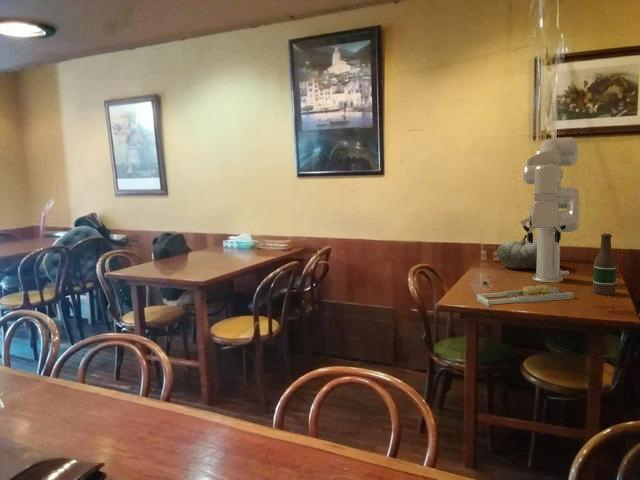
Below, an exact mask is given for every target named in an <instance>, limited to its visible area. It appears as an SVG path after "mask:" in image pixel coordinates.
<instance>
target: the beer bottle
mask: <svg viewBox="0 0 640 480" xmlns="http://www.w3.org/2000/svg"><path fill="white" fill-rule="evenodd" d="M600 237H601V240H600V248H599V253H598V254H597V256H596V257H595V259H594V261H593V262H594V263H593V270H592V271H593V275H592V276H593V277H592V293H593V294H595V295H599V296H614V295H615V294H616V287H617V286H616V284H617V281H616V280H617V260H616V259H615V257H614V255H613V253H612V234H610V233H601V234H600ZM613 294H614V295H613Z"/></svg>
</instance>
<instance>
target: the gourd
mask: <svg viewBox="0 0 640 480" xmlns="http://www.w3.org/2000/svg"><path fill="white" fill-rule="evenodd" d="M496 256H497V259H498V260H499V262H500V263H501V264H502V265H503V266H505V267H506V268H509V269H511V270H512V269H513V270H519V269H522V270H526V269H530V270H533V269H536V264H537V238H533V243H529V241H528V240H527V234H524V237H523V238H522V239H521V240H520V241H517V240H516V241H515V240H513V241H507V242H504V243H502V244H500V245H499V246H498V248H497V249H496Z"/></svg>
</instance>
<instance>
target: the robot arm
mask: <svg viewBox="0 0 640 480" xmlns="http://www.w3.org/2000/svg"><path fill="white" fill-rule="evenodd" d="M578 160H579V145H578V141H577V140H576V139H575V138H574V137H572V136H569V137H552V138H546V139H544V140H543V141H542V142H541V144H540V145H539V149H538V150H537V151H536V152H535V154H534V155H533V156H531V157H530V158H527V160H526V161H525V163H524V166H523V171H522V181H524V184H527V185H534V186H533V188H534V190H533V193H534V194H533V201H531V203H530V207H529V214H528V215H529V216H528V217H526V218H524V219H522V220H520V225H521V227H522V229H523V230H524V231H525V232H526V233H527V234H526V235H527V238H526V240H528V241H529V243H533V239H534V233H533V232H534V230H535V231H536V239H537V264H536V273H535V274H534V275H533V276H532V280H533V281H536V282H541V283H560V282H563V281H564V278H563V276H569V275H570V271H569V270H562V269H560V265H561V262H560V259H561V258H560V257H561V239H562V236H561V235H562V233H573V232H574V233H575V232H577V231H578V229H579V226H580V203H581V202H580V192H579V190H578V189H577V188H576V187H572V186H571V187H569V186H567V187H566V186H565V187H564V186H563V187H562V180H563V178H564V169H563V168H562V167H572V166H575V165H577V163H578ZM560 209H562V210H560ZM563 209H566V210H563ZM527 223H528V226H527Z"/></svg>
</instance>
